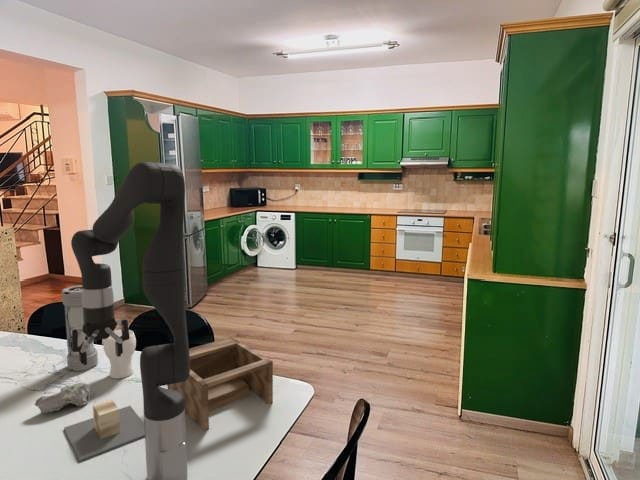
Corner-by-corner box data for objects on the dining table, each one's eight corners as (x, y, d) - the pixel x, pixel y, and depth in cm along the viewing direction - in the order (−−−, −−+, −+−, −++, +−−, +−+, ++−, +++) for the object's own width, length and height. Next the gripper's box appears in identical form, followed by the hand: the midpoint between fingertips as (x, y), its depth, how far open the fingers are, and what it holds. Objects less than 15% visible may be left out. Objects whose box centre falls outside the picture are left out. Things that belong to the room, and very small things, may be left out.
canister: (61, 369, 157) (54, 290, 152) (83, 358, 167) (78, 284, 162) (82, 373, 154) (76, 293, 149) (104, 361, 164) (99, 286, 159)
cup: (125, 382, 148) (122, 341, 146) (98, 378, 150) (95, 338, 148) (143, 368, 159) (141, 330, 156) (118, 365, 161) (116, 328, 158)
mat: (151, 434, 119) (151, 432, 119) (79, 461, 108) (79, 459, 108) (130, 407, 133) (130, 405, 133) (64, 429, 121) (64, 427, 121)
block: (120, 432, 119) (118, 409, 118) (101, 439, 116) (99, 415, 115) (113, 421, 124) (111, 398, 123) (94, 427, 121) (92, 404, 120)
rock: (42, 423, 124) (40, 401, 123) (34, 414, 128) (32, 393, 127) (98, 402, 136) (96, 382, 135) (88, 394, 140) (87, 375, 139)
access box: (272, 402, 137) (272, 361, 135) (203, 430, 121) (202, 385, 119) (231, 373, 156) (231, 337, 154) (167, 394, 141) (166, 354, 138)
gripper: (71, 311, 107) (76, 372, 109) (130, 301, 116) (133, 357, 119) (65, 304, 112) (69, 362, 115) (121, 295, 122) (124, 349, 124)
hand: (102, 359), depth 117 cm, fingers open, 8 cm apart
